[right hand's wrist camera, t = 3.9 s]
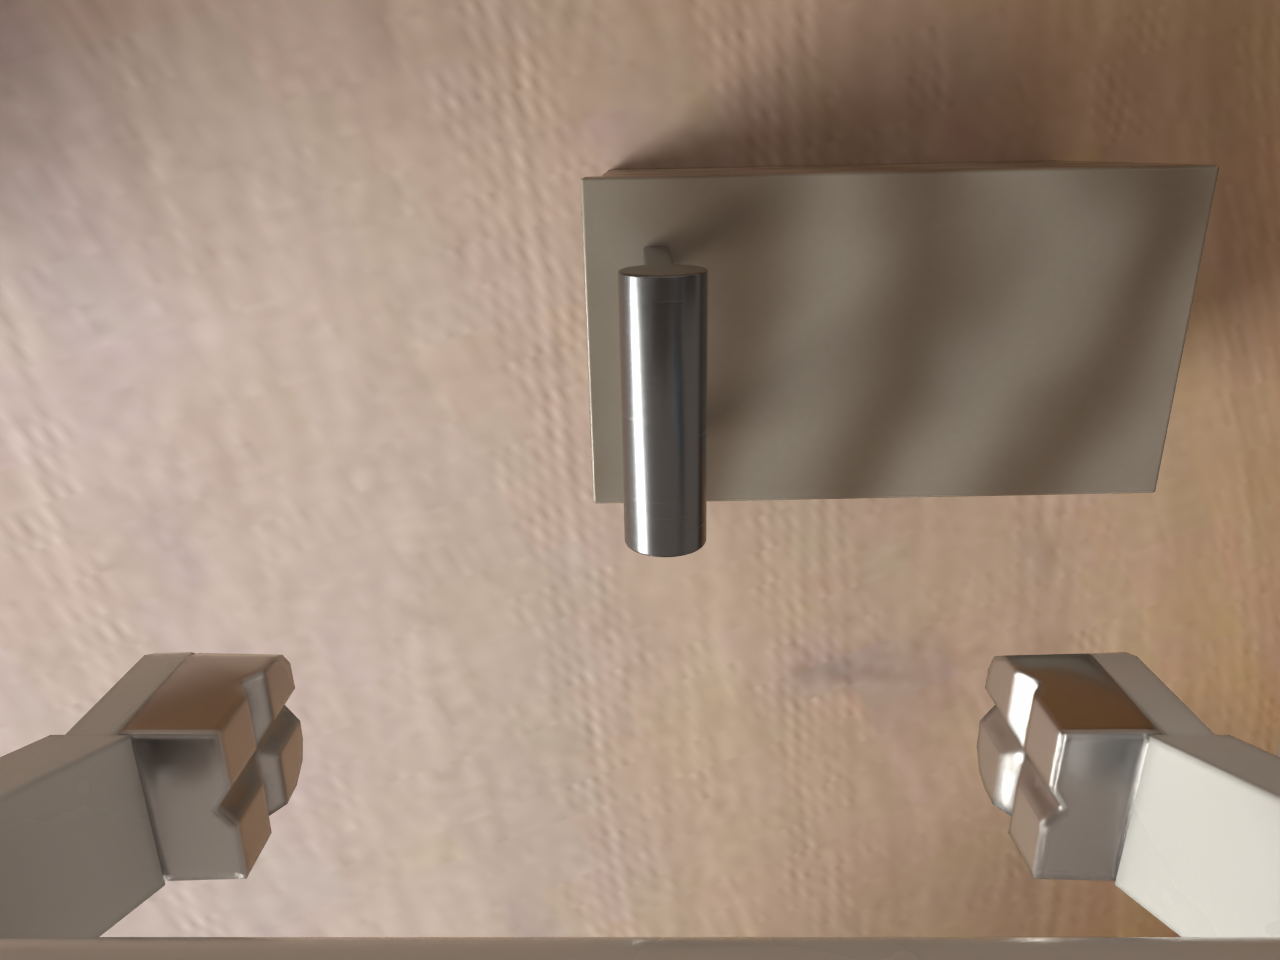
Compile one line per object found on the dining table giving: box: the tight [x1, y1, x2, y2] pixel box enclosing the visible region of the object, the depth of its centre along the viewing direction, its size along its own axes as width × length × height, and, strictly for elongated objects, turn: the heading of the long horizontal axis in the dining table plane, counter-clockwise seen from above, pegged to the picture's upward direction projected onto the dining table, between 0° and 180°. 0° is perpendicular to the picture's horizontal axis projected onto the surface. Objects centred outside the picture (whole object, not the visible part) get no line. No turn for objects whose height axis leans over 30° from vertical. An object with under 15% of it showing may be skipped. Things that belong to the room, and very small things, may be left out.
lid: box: [580, 165, 1219, 557], centre depth 22 cm, size 17×9×8 cm, turn 91°
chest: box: [601, 161, 1193, 177], centre depth 30 cm, size 17×9×9 cm, turn 91°
